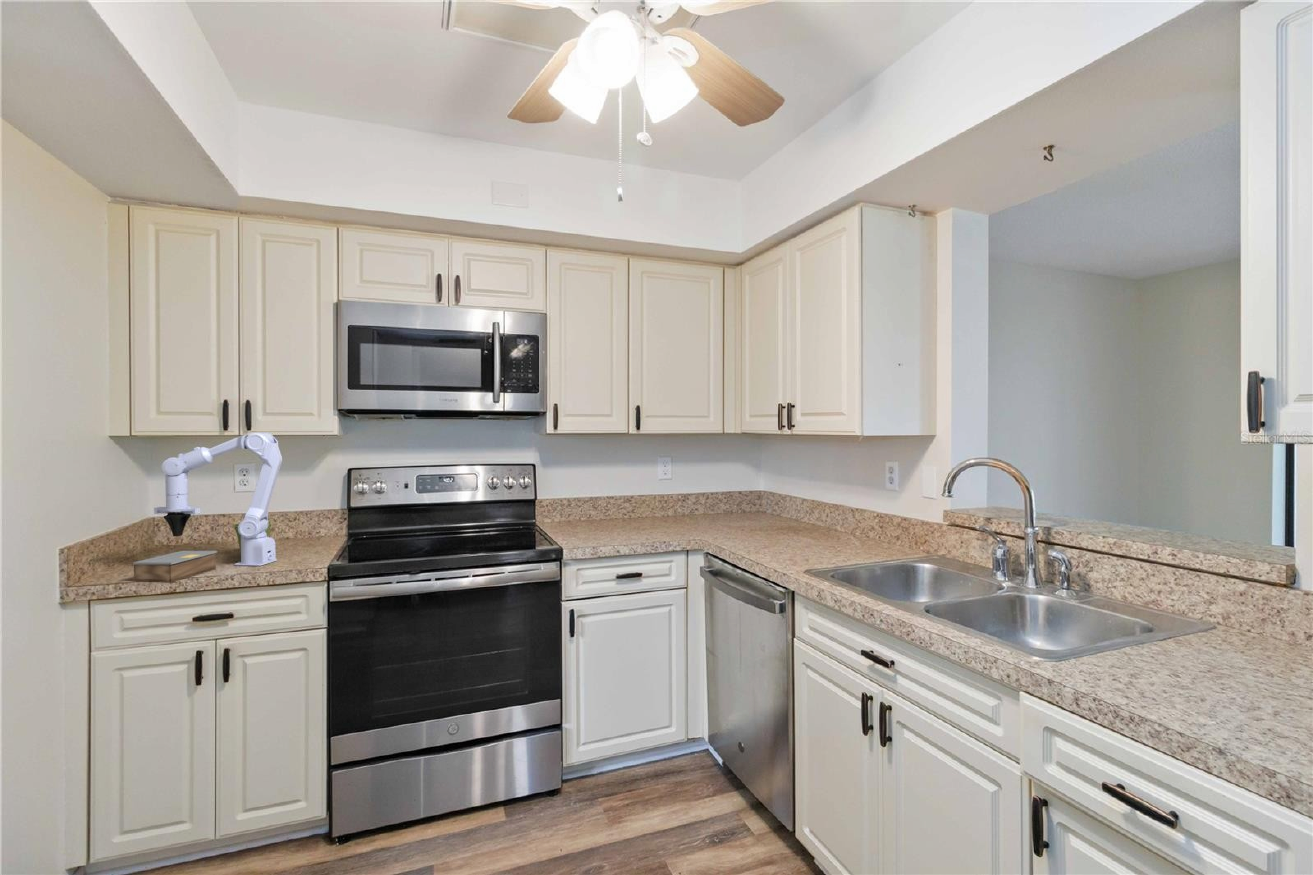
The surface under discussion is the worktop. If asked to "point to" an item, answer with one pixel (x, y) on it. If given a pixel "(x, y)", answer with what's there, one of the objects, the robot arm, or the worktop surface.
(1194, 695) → the worktop surface
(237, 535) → the plant pot
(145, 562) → the lid
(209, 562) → the box base
